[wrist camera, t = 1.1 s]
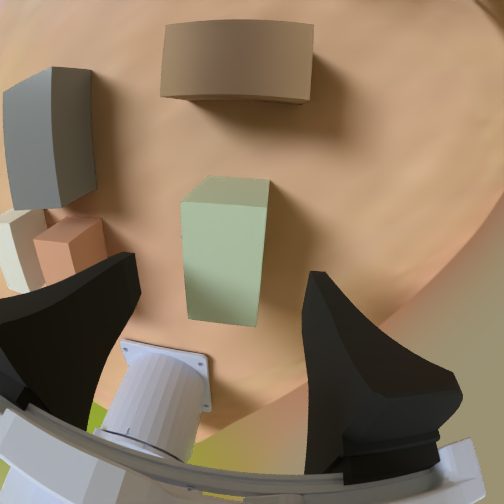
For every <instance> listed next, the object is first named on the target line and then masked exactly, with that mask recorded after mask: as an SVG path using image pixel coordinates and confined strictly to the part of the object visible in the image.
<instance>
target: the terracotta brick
mask: <svg viewBox="0 0 504 504" xmlns="http://www.w3.org/2000/svg"><path fill="white" fill-rule="evenodd" d="M33 241H34V245H35V249H36V252H37V256H38V259H39V263H40V266H41V269H42V273H43V276H44V279H45V282H46V285H47V286H49V285H52V284H54V283H57V282H59V281H62V280H64V279H66V278H68V277H70V276H72V275H74V274H76V273H79V272H81V271H83V270H85V269H87V268H89V267H91V266H93V265H95V264H97V263H99V262H101V261H103V260H105V259H107V258H108V255H107V250H106V245H105V239H104V233H103V226H102V220H101V218H85V217H65V218H64V219H62V220H61V221H59V222H58V223H56V224H55V225H53V226H52V227H50V228H49V229H47V230H46V231H44V232H43V233H41V234H40V235H39V236H37V237H36V238H34V239H33Z"/></svg>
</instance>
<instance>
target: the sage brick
mask: <svg viewBox="0 0 504 504" xmlns="http://www.w3.org/2000/svg"><path fill="white" fill-rule="evenodd" d="M269 183H270V180H265V179H252V178H238V177H222V176H208V177H207V178H205V179H204V180H203V181H202V182H201V183H200V184H199V185H198V186H197V187H196V188H195V189H193V190H192V191H191V192H190V193H189V194H188V195H187V196H186V197H185V198H184V199H183V200H182V201H181V229H182V249H183V265H184V278H185V291H186V302H187V312H188V319H192V320H200V321H207V322H215V323H223V324H232V325H241V326H251V327H256V324H257V314H258V305H259V295H260V285H261V275H262V264H263V253H264V242H265V230H266V219H267V207H268V195H269Z"/></svg>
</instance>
